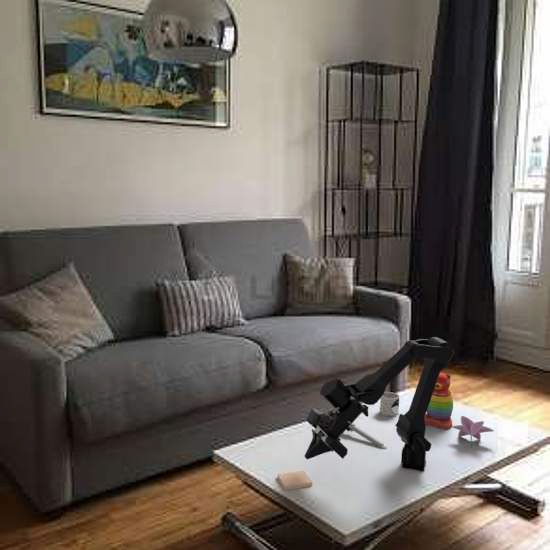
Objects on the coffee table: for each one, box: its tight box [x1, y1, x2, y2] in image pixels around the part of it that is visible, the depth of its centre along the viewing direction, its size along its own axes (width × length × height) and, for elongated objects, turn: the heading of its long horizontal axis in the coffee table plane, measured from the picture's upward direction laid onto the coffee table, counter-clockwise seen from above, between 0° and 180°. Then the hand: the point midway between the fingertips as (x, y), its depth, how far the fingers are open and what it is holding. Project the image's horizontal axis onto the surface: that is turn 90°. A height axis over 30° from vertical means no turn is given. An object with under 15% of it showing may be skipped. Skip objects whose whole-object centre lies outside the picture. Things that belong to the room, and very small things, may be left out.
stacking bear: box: [425, 372, 454, 430], centre depth 219 cm, size 11×10×18 cm
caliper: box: [348, 421, 387, 450], centre depth 206 cm, size 20×1×6 cm, turn 43°
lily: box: [451, 415, 494, 449], centre depth 203 cm, size 12×12×10 cm
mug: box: [379, 391, 400, 417], centre depth 229 cm, size 10×7×7 cm, turn 149°
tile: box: [277, 470, 313, 490], centre depth 178 cm, size 2×7×8 cm
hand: (305, 457), depth 177 cm, fingers closed
